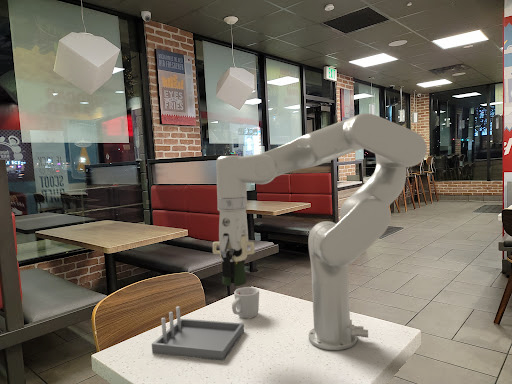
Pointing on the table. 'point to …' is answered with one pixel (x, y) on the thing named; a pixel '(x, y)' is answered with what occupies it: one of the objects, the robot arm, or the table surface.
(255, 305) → the cup
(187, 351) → the dish rack
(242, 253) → the character mug
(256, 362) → the table surface
